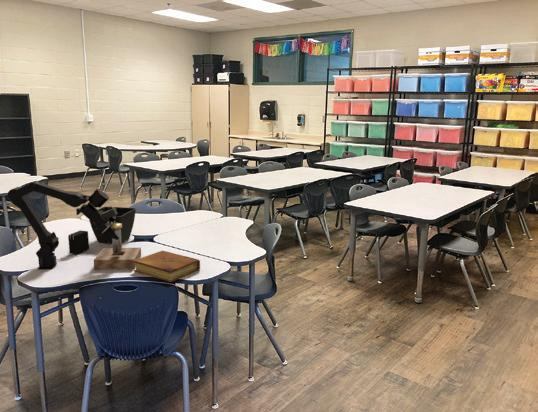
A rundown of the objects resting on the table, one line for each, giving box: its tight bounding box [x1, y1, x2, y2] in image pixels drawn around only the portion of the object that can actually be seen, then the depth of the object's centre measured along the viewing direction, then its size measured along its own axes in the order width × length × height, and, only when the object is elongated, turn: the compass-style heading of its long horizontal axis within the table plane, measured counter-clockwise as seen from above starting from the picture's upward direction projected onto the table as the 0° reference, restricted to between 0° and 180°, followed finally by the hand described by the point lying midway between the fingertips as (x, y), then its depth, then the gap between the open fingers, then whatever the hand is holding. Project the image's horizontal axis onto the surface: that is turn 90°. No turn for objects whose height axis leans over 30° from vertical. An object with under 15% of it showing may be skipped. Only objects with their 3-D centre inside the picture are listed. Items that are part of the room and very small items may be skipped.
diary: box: [133, 250, 201, 283], centre depth 209 cm, size 23×19×6 cm
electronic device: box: [67, 230, 90, 256], centre depth 233 cm, size 4×10×10 cm, turn 164°
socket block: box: [93, 247, 142, 271], centre depth 218 cm, size 18×18×4 cm
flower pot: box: [88, 206, 137, 245], centre depth 252 cm, size 19×19×17 cm
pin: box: [110, 223, 123, 253], centre depth 212 cm, size 5×5×13 cm
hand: (119, 237), depth 212 cm, fingers closed on pin, 4 cm apart
